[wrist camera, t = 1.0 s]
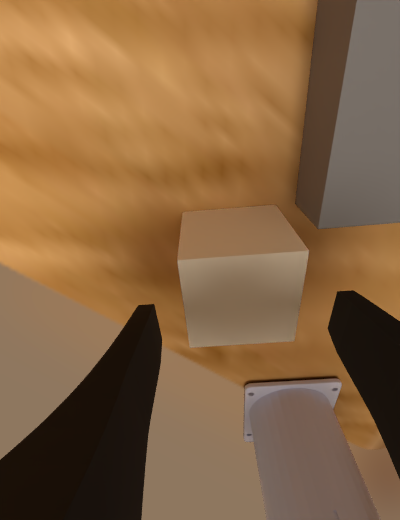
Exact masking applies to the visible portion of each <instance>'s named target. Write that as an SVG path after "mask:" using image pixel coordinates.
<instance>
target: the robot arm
mask: <svg viewBox="0 0 400 520" xmlns="http://www.w3.org/2000/svg"><path fill="white" fill-rule="evenodd" d="M328 331H329V333H330V336H331V339H332V341H333V344H334V346H335V348H336V351H337V353H338V355H339V357H340V359H341V361H342V362H343V364H344V366H345V368H346V370H347V372H348V373H349V375H350V377H351V379H352V381H353V382H354V384H355V386H356V388H357V389H358V391H359V393H360V395H361V397H362V398H363V400H364V402H365V404H366V406H367V407H368V409H369V411H370V413H371V415H372V417H373V419H374V421H375V423H376V425H377V427H378V430H379V432H380V434H381V436H382V439H383V441H384V443H385V445H386V448H387V450H388V452H389V454H390V457H391V459H392V462H393V464H394V467H395V469H396V471H397V474H398V476H399V478H400V321H398V320H397V319H395V318H394V317H393V316H391V315H390V314H388V313H387V312H385V311H384V310H382V309H381V308H379V307H378V306H376V305H375V304H373V303H372V302H370V301H369V300H367V299H366V298H364V297H363V296H361V295H360V294H358V293H357V292H355V291H339V292H337V295H336V299H335V303H334V306H333V310H332V314H331V318H330V322H329V326H328ZM161 350H162V337H161V332H160V328H159V323H158V319H157V315H156V310H155V306H154V304H150V305H139V306H138V307H137V308H136V310H135V311H134V313H133V314H132V316H131V317H130V319H129V320H128V322H127V323H126V325H125V326H124V328H123V329H122V331H121V332H120V334H119V335H118V337H117V338H116V339H115V341H114V342H113V343H112V345H111V346H110V347H109V349H108V350H107V352H106V353H105V354H104V355H103V357H102V358H101V359H100V361H99V362H98V363H97V364H96V365H95V367H94V368H93V369H92V370H91V372H90V373H89V374H88V375H87V376H86V377H85V379H84V380H83V381H82V382H81V383H80V384H79V385H78V386H77V388H76V389H75V390H74V391H73V392H72V393H71V394H70V395H69V396H68V397H67V399H65V400H64V402H62V403H61V404H60V405H59V407H57V408H56V410H54V411H53V413H51V414H50V415H49V416H48V417H47V418H46V419H45V420H44V421H43V422H42V423H41V424H40V425H39V426H38V427H37V428H36V429H35V430H34V431H32V432H31V433H30V434H29V435H28V436H27V437H26V438H25V439H23V440H22V441H21V442H20V443H19V444H18V445H17V446H16V447H14V448H13V449H12V450H11V451H10V452H9V453H8V454H7V455H5V456H4V457H3V458H2V459H1V460H0V520H141V516H142V501H143V487H144V476H145V463H146V453H147V442H148V433H149V426H150V419H151V414H152V408H153V403H154V397H155V392H156V386H157V381H158V375H159V369H160V363H161ZM341 386H342V383H341V381H340V380H339V379H336V378H333V379H316V380H299V381H282V382H264V383H249V384H247V385H246V386H245V394H244V441H246V442H254V446H255V453H256V459H257V465H258V471H259V476H260V482H261V489H262V495H263V501H264V506H265V512H266V518H267V520H381V519H380V516H379V514H378V512H377V509H376V507H375V505H374V503H373V500H372V498H371V496H370V493H369V491H368V489H367V487H366V484H365V482H364V480H363V477H362V475H361V473H360V470H359V468H358V466H357V463H356V461H355V459H354V457H353V454H352V452H351V450H350V447H349V445H348V443H347V440H346V438H345V436H344V434H343V431H342V429H341V427H340V424H339V422H338V420H337V417H336V415H335V413H334V411H333V409H334V406H335V403H336V400H337V397H338V395H339V392H340V389H341Z"/></svg>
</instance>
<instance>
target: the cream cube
mask: <svg viewBox="0 0 400 520" xmlns="http://www.w3.org/2000/svg"><path fill="white" fill-rule="evenodd" d="M308 255H309V250H308V248H307V247H306V246H305V244H304V243H303V241H302V240H301V239H300V237H299V236H298V235H297V233H296V232H295V230H294V229H293V228H292V226H291V225H290V224H289V222H288V221H287V219H286V218H285V217H284V215H283V214H282V212H281V211H280V210H279V208H278V207H277V206H276V205H264V206H251V207H238V208H226V209H213V210H200V211H187V212H183V213H182V222H181V231H180V240H179V248H178V257H177V263H178V270H179V276H180V283H181V290H182V297H183V304H184V311H185V318H186V325H187V331H188V338H189V345H190V348H193V347H209V346H225V345H241V344H257V343H273V342H289V341H294V340H295V334H296V328H297V322H298V316H299V310H300V304H301V297H302V291H303V285H304V279H305V273H306V267H307V261H308Z"/></svg>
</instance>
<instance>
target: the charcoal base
mask: <svg viewBox="0 0 400 520" xmlns="http://www.w3.org/2000/svg"><path fill="white" fill-rule="evenodd" d="M295 204H296V205H297V206H298V207H299V208H300V210H301V211H302V212H303V213H304V214H305V215H306V216H307V217H308V219H309V220H310V221H311V222H312V223H313V224H314V225H315V226H316V227H317V229H325V228H338V227H350V226H363V225H375V224H388V223H400V0H318V6H317V15H316V24H315V32H314V41H313V50H312V59H311V68H310V77H309V86H308V95H307V104H306V112H305V121H304V130H303V139H302V148H301V157H300V166H299V175H298V183H297V192H296V201H295Z"/></svg>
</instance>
